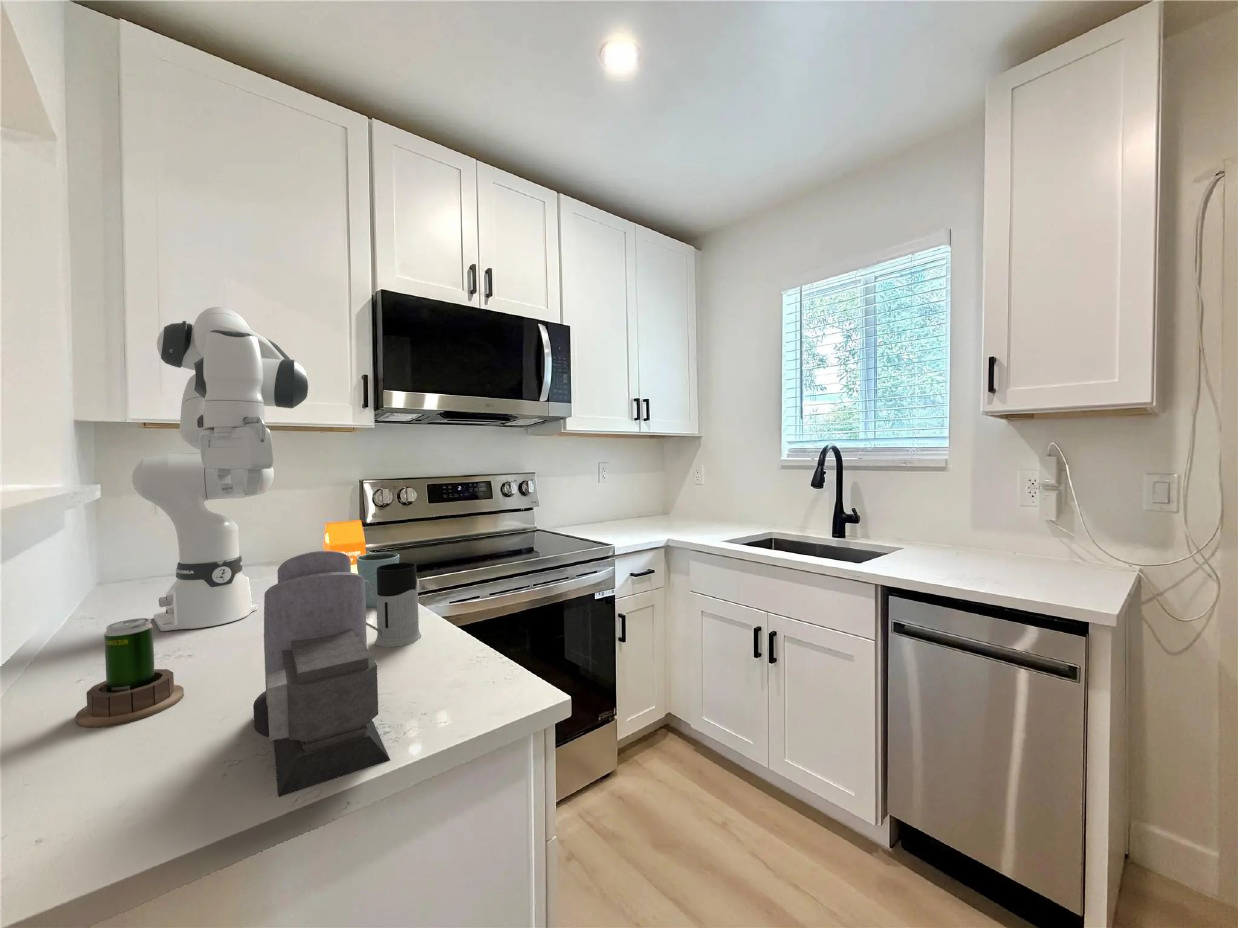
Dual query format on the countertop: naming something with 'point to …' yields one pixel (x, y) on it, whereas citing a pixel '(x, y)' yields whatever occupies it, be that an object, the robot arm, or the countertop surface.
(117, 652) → the beer can
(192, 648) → the countertop surface
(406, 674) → the countertop surface
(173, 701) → the collar coaster
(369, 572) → the teal cup
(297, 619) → the juicer
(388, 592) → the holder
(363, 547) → the orange juice
